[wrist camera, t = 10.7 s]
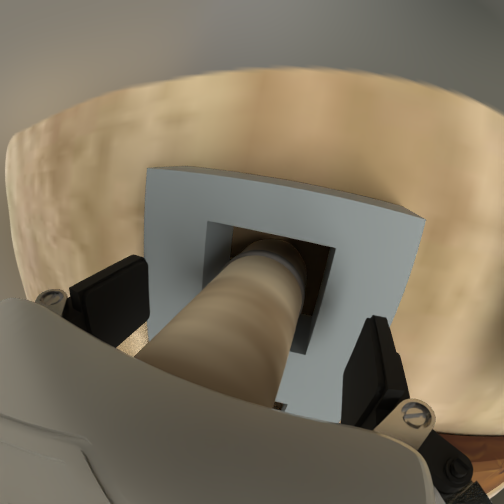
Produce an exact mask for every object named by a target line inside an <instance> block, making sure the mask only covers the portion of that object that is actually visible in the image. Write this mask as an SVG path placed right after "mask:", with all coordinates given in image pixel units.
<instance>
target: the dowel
mask: <svg viewBox="0 0 504 504" xmlns="http://www.w3.org/2000/svg"><path fill="white" fill-rule="evenodd" d="M306 283H307V268H306V265H305V262H304V260H303V258H302V257H301V255H300V254H299V252H298V251H297V249H296V248H295V247H294V246H292V245H291V244H290V243H288V242H286V241H283V240H278V239H264V240H259V241H256V242H254V243H252V244H250V245H249V246H248V247H246V248H245V249H244V250H243V251H242V252H241V253H240V254H239V255H237V256H235V257H234V258H233V259H231V260H230V261H229V262H228V263H227V264H226V265H225V266H224V267H223V269H222V270H221V272H220V273H219V274H218V275H217V276H216V277H215V278H214V279H213V280H212V281H211V282H210V283H209V284H208V285H207V286H206V287H205V288H204V289H203V290H202V291H201V292H200V293H199V294H198V295H197V296H196V297H195V298H194V299H192V300H191V301H190V302H189V303H188V304H187V305H186V306H185V307H184V308H183V309H182V310H181V311H180V312H179V313H178V314H177V315H176V316H175V317H174V318H173V319H172V320H171V321H170V322H169V323H168V324H167V325H166V326H165V327H164V328H163V329H162V330H161V331H160V332H159V333H158V334H157V335H156V336H155V337H154V338H152V339H151V340H150V341H149V342H148V343H147V344H146V345H145V346H144V347H143V348H142V349H141V350H140V351H139V352H138V353H137V354H136V355H135V356H134V358H136V359H139V360H141V361H143V362H145V363H147V364H149V365H151V366H154V367H156V368H158V369H160V370H163V371H165V372H167V373H170V374H172V375H174V376H177V377H179V378H182V379H184V380H187V381H189V382H192V383H195V384H197V385H200V386H203V387H205V388H208V389H211V390H214V391H217V392H219V393H222V394H225V395H228V396H231V397H234V398H238V399H241V400H244V401H247V402H251V403H254V404H258V405H261V406H265V407H269V408H272V409H273V406H274V403H275V400H276V396H277V393H278V390H279V386H280V383H281V380H282V376H283V373H284V369H285V366H286V362H287V359H288V355H289V351H290V348H291V344H292V340H293V336H294V333H295V329H296V325H297V321H298V317H299V316H300V314H301V311H302V308H303V304H304V298H305V288H306Z"/></svg>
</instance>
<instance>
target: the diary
mask: <svg viewBox="0 0 504 504" xmlns="http://www.w3.org/2000/svg"><path fill="white" fill-rule="evenodd" d="M438 434H439V433H438ZM439 435H440V436H442V437H443V438H444V439H446V440H447V441H448V442H449V443H451V444H452V445H453V446H454V447H456V448H457V449H458V450H460V451H461V452H462V453H463V454H465V455H466V456H467V457H468V458H469V459H470V461H471V463H472V465H473V476H472V479H471V480H472V481H473V483H474V482H475V481H476V480H477V481H478V483H479V484H480V486H481V487H482V489H483V490H484V491H485V493H486V494H487V493H488V492H490V491H491V490H493V489H494V488H496V487H497V486H499V485H500V484H501V483H503V482H504V436H463V435H449V434H439Z"/></svg>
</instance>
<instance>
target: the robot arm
mask: <svg viewBox="0 0 504 504" xmlns="http://www.w3.org/2000/svg"><path fill="white" fill-rule="evenodd" d="M69 291H70V296H71V297H69V298H67V294H66V292H64V291H63V290H60V289H51V290H47V291H44V292H42V293H41V294H40V295H39V296H38V297H37V299H36V301H35V302H32V301H29V300H26V299H20V298H8V299H5V300H3V301H0V504H492V502H491V500H490V499H489V497H488V496H487V494H486V493H485V491H484V490H483V489H482V487H481V486H480V484H479V483H478V481H477V480H476V481H475V482H474V483H473V481H472V480H471V479H472V476H473V465H472V463H471V461H470V459H469V458H468V457H467V456H466V455H465V454H463V453H462V452H461V451H460V450H458V449H457V448H456V447H454V446H453V445H452V444H451V443H449V442H448V441H447V440H446V439H444V438H443V437H442V436H440V435H439V434H438V433H437V432H435V431H434V430H433V427H434V425H435V422H436V417H435V414H434V411H433V410H432V408H431V407H430V406H429V405H428V404H427V403H425V402H423V401H421V400H418V399H410V396H409V391H408V386H407V382H406V378H405V373H404V369H403V365H402V361H401V358H400V355H399V353H396V349H395V345H394V341H393V338H392V334H391V331H390V327H389V324H388V320H387V318H386V317H381V316H376V315H372V317H371V318H366V320H365V322H364V325H363V328H362V330H361V333H360V335H359V337H358V340H357V342H356V345H355V347H354V349H353V352H352V354H351V356H350V358H349V361H348V363H347V365H346V367H345V370H344V373H343V386H342V409H341V424H340V423H334V422H329V421H325V420H320V419H316V418H311V417H306V416H301V415H297V414H292V413H288V412H284V411H280V410H276V409H272V408H269V407H265V406H261V405H258V404H254V403H251V402H247V401H244V400H241V399H238V398H234V397H231V396H228V395H225V394H222V393H219V392H217V391H214V390H211V389H208V388H205V387H203V386H200V385H197V384H195V383H192V382H189V381H187V380H184V379H182V378H179V377H177V376H174V375H172V374H170V373H167V372H165V371H163V370H160V369H158V368H156V367H154V366H151V365H149V364H147V363H145V362H143V361H141V360H139V359H136V358H134V357H132V356H130V355H128V354H126V353H124V352H122V351H120V350H118V349H116V347H117V346H119V345H120V344H121V343H122V342H123V341H124V340H125V339H126V338H128V337H129V336H130V335H131V334H132V333H133V332H134V331H136V330H137V329H138V328H139V327H140V326H141V325H143V324H144V323H145V322H146V321H147V320H148V319H149V316H150V301H149V273H148V263H147V262H146V259H145V258H144V257H140V256H137V255H131V256H129V257H127V258H125V259H123V260H121V261H119V262H117V263H115V264H113V265H111V266H109V267H107V268H105V269H103V270H102V271H100V272H98V273H96V274H94V275H92V276H90V277H88V278H86V279H85V280H83V281H81V282H79V283H77V284H75V285H74V286H72V287H70V288H69Z"/></svg>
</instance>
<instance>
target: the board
mask: <svg viewBox="0 0 504 504" xmlns="http://www.w3.org/2000/svg"><path fill="white" fill-rule="evenodd" d="M425 221H426V219H424V218H422V217H420V216H419V215H417V214H415V213H413V212H412V211H410V210H408V209H406V208H405V207H403V206H399V205H396V204H392V203H388V202H385V201H381V200H377V199H373V198H369V197H365V196H361V195H357V194H352V193H348V192H344V191H339V190H335V189H330V188H325V187H321V186H316V185H311V184H306V183H300V182H295V181H290V180H284V179H278V178H272V177H266V176H260V175H254V174H247V173H240V172H233V171H225V170H218V169H209V168H201V167H191V166H173V167H155V168H147V177H146V193H145V215H144V258H145V259H146V262H147V263H148V273H149V301H150V316H149V319H148V320H147V327H148V338H149V341H150V340H151V339H152V338H154V337H155V336H156V335H157V334H158V333H159V332H160V331H161V330H162V329H163V328H164V327H165V326H166V325H167V324H168V323H169V322H170V321H171V320H172V319H173V318H174V317H175V316H176V315H177V314H178V313H179V312H180V311H181V310H182V309H183V308H184V307H185V306H186V305H187V304H188V303H189V302H190V301H191V300H192V299H194V298H195V297H196V296H197V295H198V294H199V293H200V292H201V291H202V290H203V289H204V288H205V287H206V286H207V285H208V284H209V283H210V282H211V281H212V280H213V279H214V278H215V277H216V276H217V275H218V274H219V273H220V272H221V270H222V269H223V267H224V266H225V265H226V264H227V263H228V262H229V261H230V253H231V244H232V236H233V228H234V226H236V227H241V228H246V229H251V230H255V231H260V232H265V233H270V234H274V235H279V236H284V237H288V238H293V239H298V240H302V241H307V242H311V243H316V244H320V245H325V246H329V247H330V250H329V254H328V259H327V263H326V267H325V271H324V275H323V279H322V282H321V286H320V290H319V294H318V297H317V301H316V305H315V308H314V312H313V315H312V316H309V315H304V314H300V316H299V317H298V321H297V325H296V329H295V333H294V336H293V340H292V344H291V348H290V351H289V355H288V359H287V362H286V366H285V369H284V373H283V376H282V380H281V383H280V386H279V390H278V393H277V396H276V400H275V401H276V402H280V403H284V404H283V407H282V409H281V410H280V411H284V412H288V413H292V414H297V415H301V416H306V417H311V418H316V419H320V420H325V421H329V422H334V423H339V422H340V420H341V409H342V386H343V373H344V370H345V367H346V365H347V363H348V361H349V358H350V356H351V354H352V352H353V349H354V347H355V345H356V342H357V340H358V337H359V335H360V333H361V330H362V328H363V325H364V322H365V320H366V318H371V317H372V315H376V316H381V317H386V318H387V320H388V324H389V327H390V325H391V323H392V321H393V318H394V316H395V313H396V311H397V308H398V306H399V303H400V301H401V298H402V295H403V293H404V290H405V287H406V284H407V282H408V279H409V276H410V273H411V270H412V267H413V264H414V260H415V257H416V254H417V251H418V247H419V244H420V240H421V237H422V233H423V229H424V225H425ZM276 410H277V409H276Z"/></svg>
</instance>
